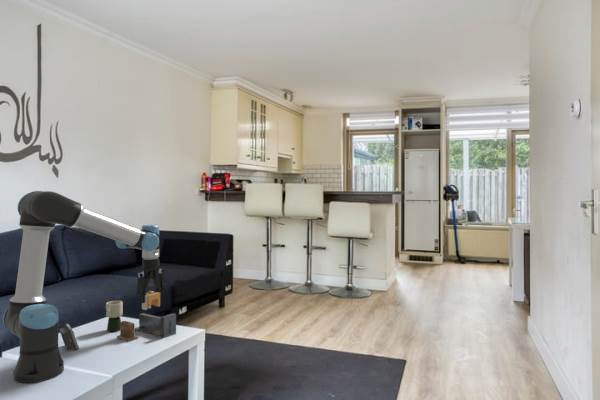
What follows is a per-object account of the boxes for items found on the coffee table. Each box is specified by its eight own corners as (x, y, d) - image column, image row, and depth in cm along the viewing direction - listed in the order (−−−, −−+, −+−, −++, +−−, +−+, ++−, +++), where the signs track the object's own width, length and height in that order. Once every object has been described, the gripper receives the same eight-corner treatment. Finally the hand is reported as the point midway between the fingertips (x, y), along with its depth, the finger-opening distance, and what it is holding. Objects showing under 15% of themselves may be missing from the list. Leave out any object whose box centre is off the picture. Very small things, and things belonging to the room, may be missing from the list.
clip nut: (149, 308, 194) (148, 292, 194) (141, 307, 197) (141, 291, 197) (160, 305, 200) (160, 290, 200) (153, 304, 202) (153, 288, 202)
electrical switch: (79, 349, 174) (76, 327, 174) (65, 353, 171) (62, 331, 170) (74, 343, 182) (72, 322, 181) (61, 347, 178) (58, 325, 178)
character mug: (112, 326, 205) (112, 299, 205) (127, 326, 204) (127, 299, 204) (100, 333, 194) (100, 305, 194) (116, 334, 193) (115, 305, 193)
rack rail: (163, 338, 189) (163, 317, 188) (134, 330, 199) (134, 311, 199) (176, 333, 194) (176, 314, 194) (147, 326, 205) (147, 307, 205)
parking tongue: (128, 341, 184) (128, 325, 183) (116, 338, 188) (116, 322, 188) (138, 338, 188) (138, 322, 188) (126, 335, 192) (126, 319, 192)
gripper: (138, 261, 188) (138, 313, 188) (172, 256, 204) (172, 304, 205) (127, 260, 192) (127, 311, 192) (162, 254, 208) (162, 302, 209)
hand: (151, 307), depth 198 cm, fingers closed on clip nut, 6 cm apart
